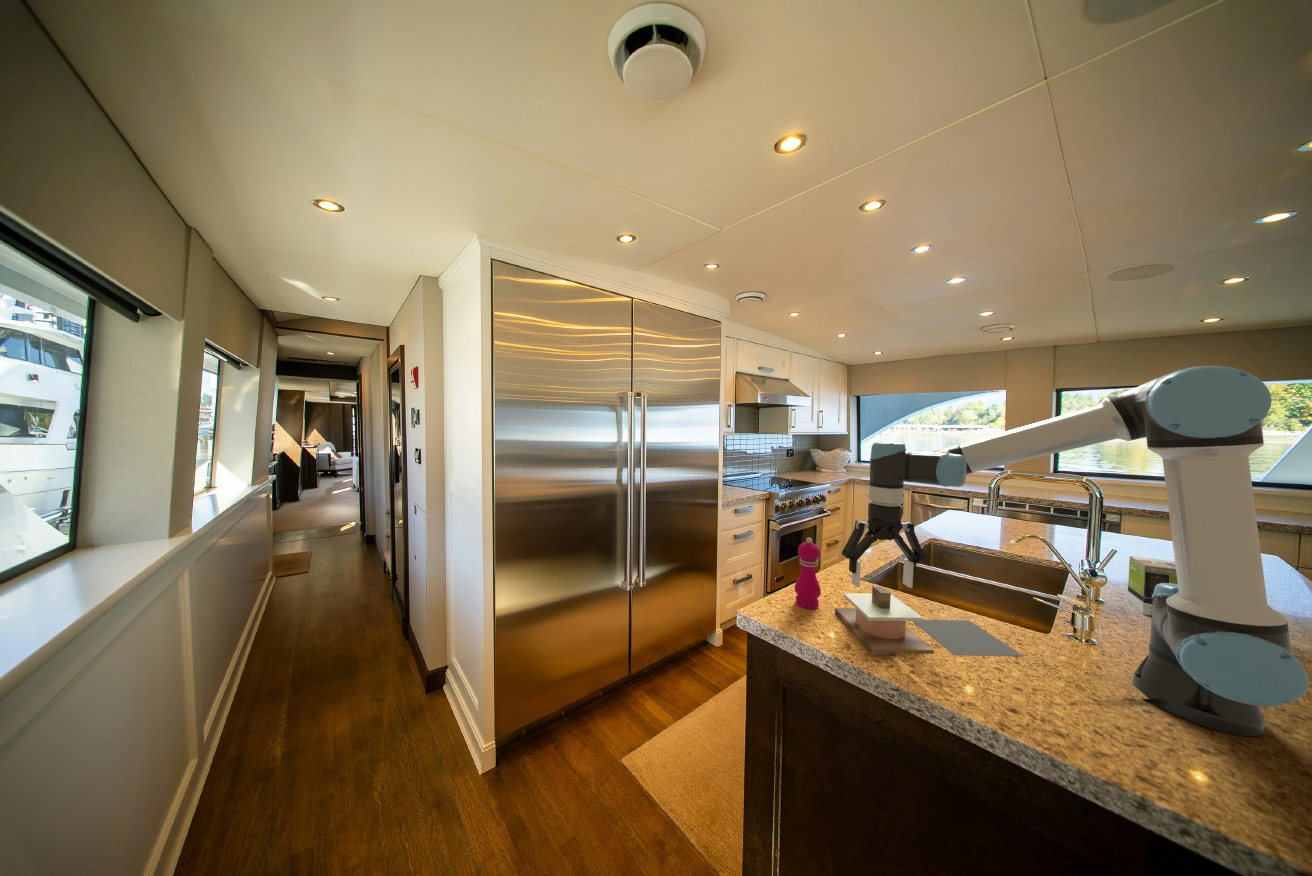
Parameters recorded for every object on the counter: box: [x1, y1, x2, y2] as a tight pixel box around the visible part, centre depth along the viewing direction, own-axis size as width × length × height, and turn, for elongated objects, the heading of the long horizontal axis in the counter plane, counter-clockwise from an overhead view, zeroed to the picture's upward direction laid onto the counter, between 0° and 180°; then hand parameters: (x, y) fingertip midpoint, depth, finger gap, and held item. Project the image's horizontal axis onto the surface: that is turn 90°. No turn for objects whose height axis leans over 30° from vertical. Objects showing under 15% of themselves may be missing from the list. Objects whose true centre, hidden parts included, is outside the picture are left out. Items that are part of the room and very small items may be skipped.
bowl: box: [856, 609, 907, 639], centre depth 102 cm, size 11×11×5 cm
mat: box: [911, 619, 1024, 657], centre depth 99 cm, size 16×16×1 cm
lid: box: [843, 585, 924, 622], centre depth 102 cm, size 13×13×5 cm
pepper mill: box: [794, 537, 822, 610], centre depth 117 cm, size 7×7×20 cm
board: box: [834, 607, 935, 657], centre depth 102 cm, size 20×14×2 cm
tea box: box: [1127, 556, 1178, 617], centre depth 113 cm, size 15×10×15 cm, turn 58°
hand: (881, 585), depth 101 cm, fingers open, 13 cm apart
